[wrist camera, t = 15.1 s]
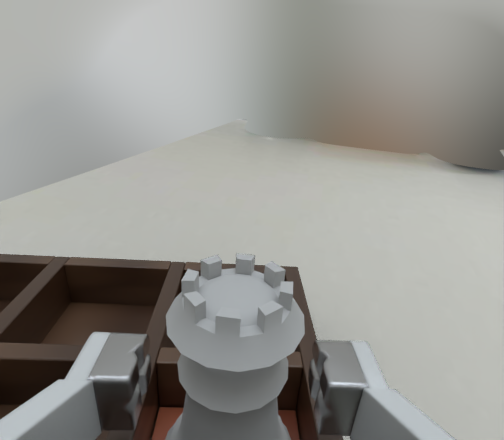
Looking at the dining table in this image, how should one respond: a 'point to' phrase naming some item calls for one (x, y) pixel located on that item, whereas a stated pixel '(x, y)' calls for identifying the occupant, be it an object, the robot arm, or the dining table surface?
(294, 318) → the rook chess piece
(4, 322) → the grid
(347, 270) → the dining table surface
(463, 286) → the dining table surface
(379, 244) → the dining table surface
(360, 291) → the dining table surface
